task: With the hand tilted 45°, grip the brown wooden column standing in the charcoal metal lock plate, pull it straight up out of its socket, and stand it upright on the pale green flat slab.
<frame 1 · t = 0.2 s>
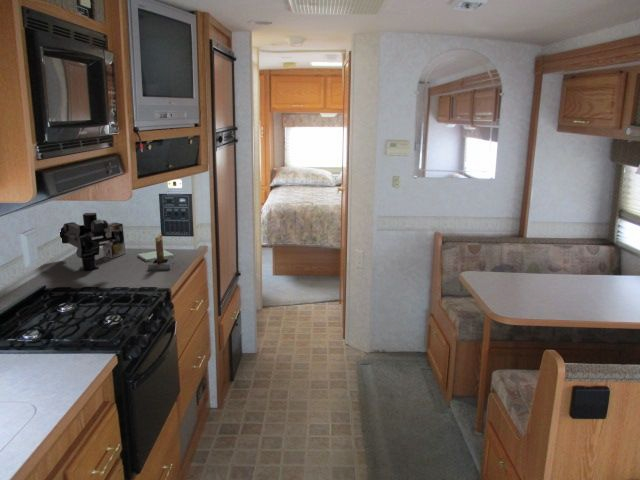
hand: (109, 243, 230), 17 cm above the counter, tool horizontal, fingers open, 9 cm apart
brown wooden column: (159, 251, 253), in the lock plate
lock plate: (161, 266, 255), on the counter
coffee box: (114, 255, 274), on the counter
pale green flat slab: (155, 256, 271), on the counter
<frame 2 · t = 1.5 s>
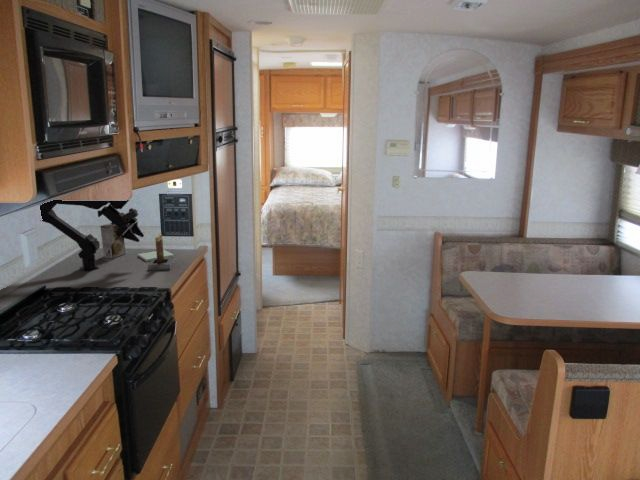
hand: (141, 238, 251), 14 cm above the counter, tool tilted 45°, fingers open, 9 cm apart
nothing on the counter moved.
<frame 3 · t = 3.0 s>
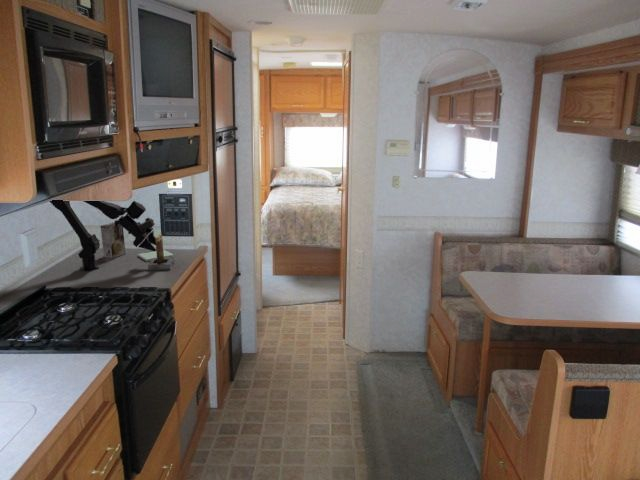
hand: (157, 248, 253), 9 cm above the counter, tool tilted 45°, fingers open, 9 cm apart
nothing on the counter moved.
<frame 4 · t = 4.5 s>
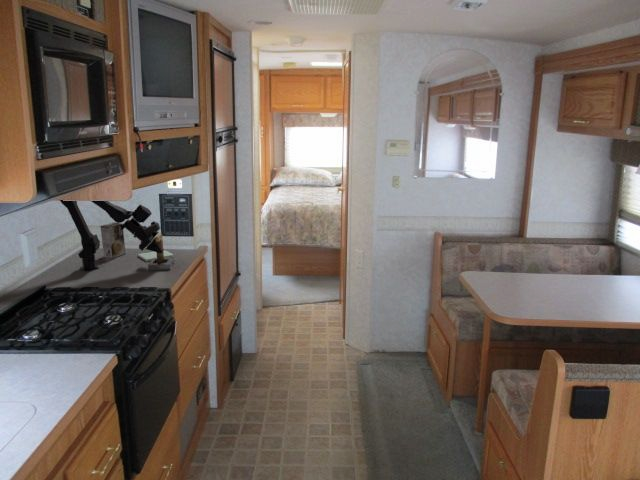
hand: (162, 251, 253), 7 cm above the counter, tool tilted 45°, fingers closed on brown wooden column, 3 cm apart
brown wooden column: (159, 251, 253), in the lock plate, touching gripper
everything else where it was.
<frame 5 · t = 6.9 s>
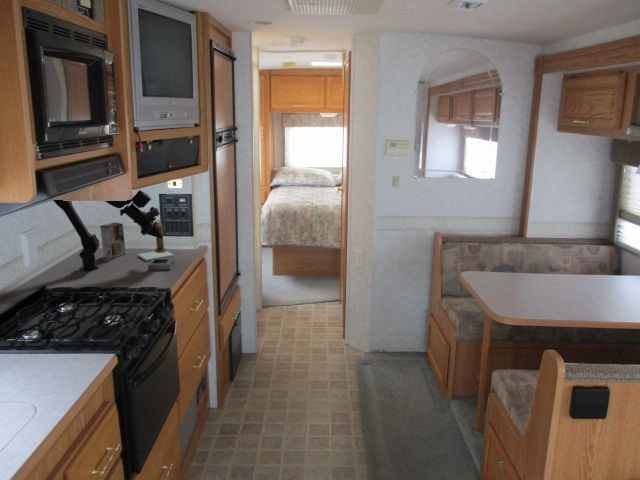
hand: (162, 236, 255), 13 cm above the counter, tool tilted 45°, fingers closed on brown wooden column, 3 cm apart
brown wooden column: (159, 236, 255), point 14 cm above the counter, touching gripper
everything else where it was.
when the fingers open (10 cm above the counter, at t = 9.3 s): brown wooden column drops 1 cm, resting on pale green flat slab.
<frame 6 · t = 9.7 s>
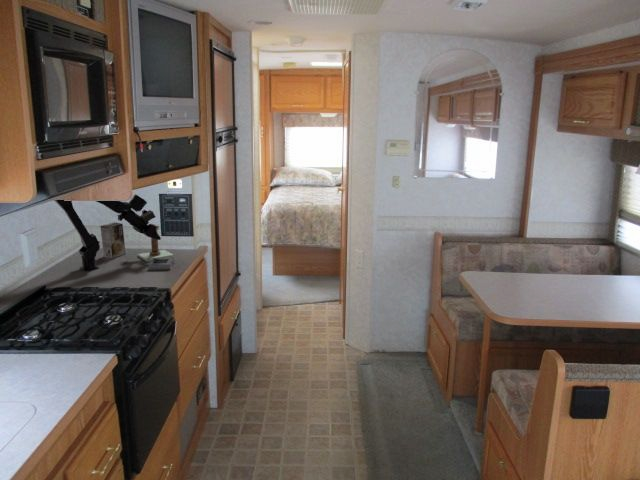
hand: (157, 237, 269), 10 cm above the counter, tool tilted 45°, fingers open, 8 cm apart
brown wooden column: (154, 239, 269), on the pale green flat slab, point 9 cm above the counter
everything else where it was.
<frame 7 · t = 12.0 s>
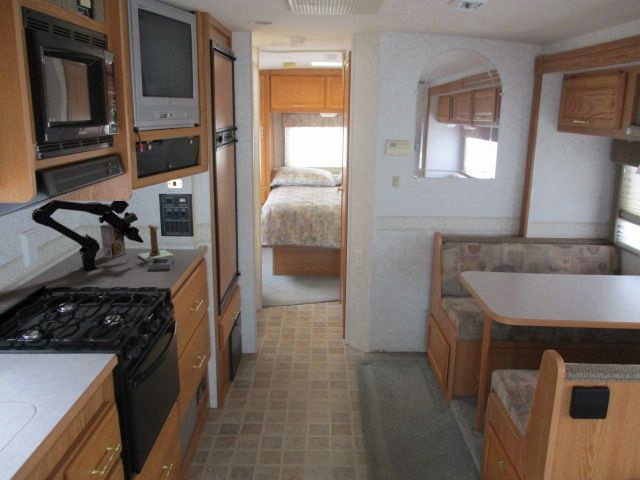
hand: (139, 240, 264), 10 cm above the counter, tool tilted 45°, fingers open, 9 cm apart
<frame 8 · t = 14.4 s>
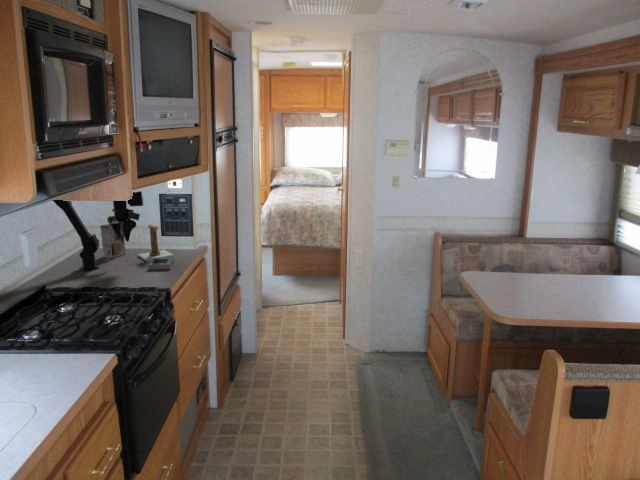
hand: (123, 239, 252), 13 cm above the counter, tool pointing down, fingers open, 9 cm apart
nothing on the counter moved.
at the end: brown wooden column inside the target area on the pale green flat slab (0.3 cm from its centre), point 8.6 cm above the pale green flat slab's base; brown wooden column tilted 0°; the gripper is holding nothing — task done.
